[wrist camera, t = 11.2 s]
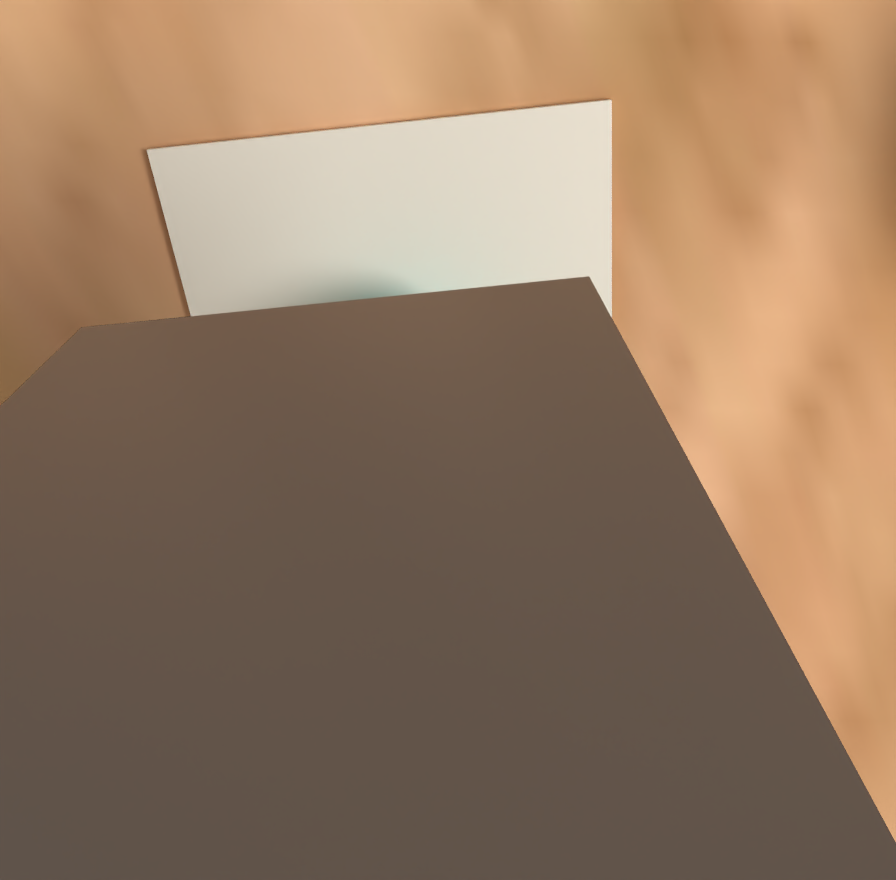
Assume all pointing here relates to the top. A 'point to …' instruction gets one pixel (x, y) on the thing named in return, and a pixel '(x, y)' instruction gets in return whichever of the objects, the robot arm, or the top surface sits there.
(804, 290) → the top surface
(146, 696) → the grey rectangular block
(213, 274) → the white square plate
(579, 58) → the top surface
